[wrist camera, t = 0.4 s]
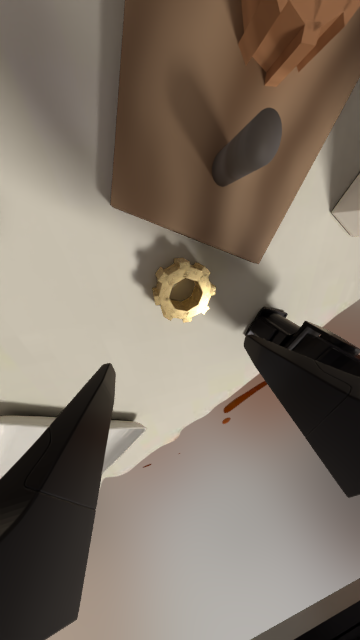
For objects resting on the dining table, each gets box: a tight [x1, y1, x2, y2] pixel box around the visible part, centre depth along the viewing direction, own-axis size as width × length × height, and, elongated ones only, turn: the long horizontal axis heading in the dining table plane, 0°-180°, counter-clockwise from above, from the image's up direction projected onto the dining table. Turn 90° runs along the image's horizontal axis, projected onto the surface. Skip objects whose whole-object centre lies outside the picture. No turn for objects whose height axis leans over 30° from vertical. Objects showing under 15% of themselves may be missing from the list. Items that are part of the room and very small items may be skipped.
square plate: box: [0, 416, 147, 479], centre depth 31 cm, size 27×27×4 cm
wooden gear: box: [152, 258, 216, 322], centre depth 18 cm, size 7×7×3 cm
